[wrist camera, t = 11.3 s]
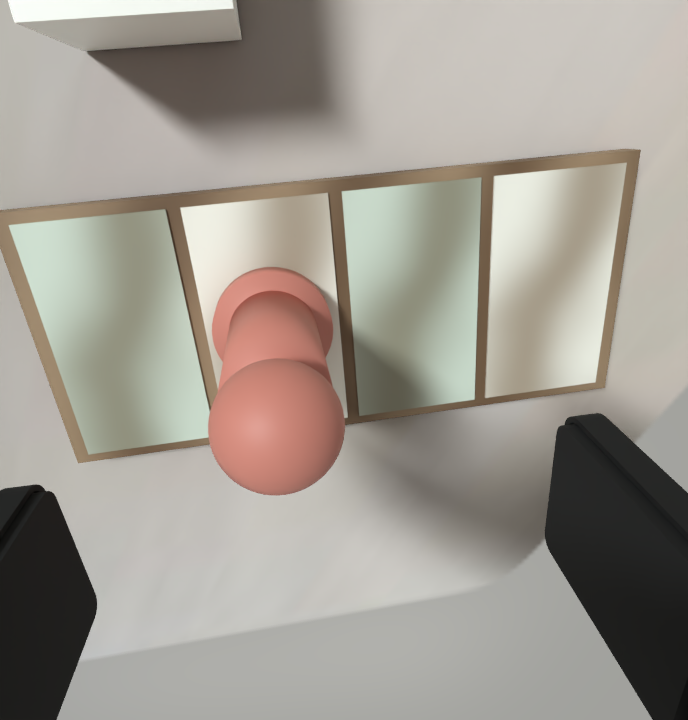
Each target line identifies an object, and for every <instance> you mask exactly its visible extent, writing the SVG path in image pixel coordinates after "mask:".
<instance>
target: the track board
mask: <svg viewBox="0 0 688 720" xmlns="http://www.w3.org/2000/svg"><path fill="white" fill-rule="evenodd" d="M640 151H641V150H635V149H619V150H609V151H599V152H588V153H578V154H568V155H558V156H548V157H538V158H527V159H517V160H507V161H497V162H487V163H476V164H466V165H456V166H446V167H436V168H426V169H415V170H405V171H395V172H385V173H375V174H364V175H354V176H344V177H334V178H324V179H314V180H303V181H293V182H283V183H273V184H263V185H253V186H242V187H232V188H222V189H212V190H202V191H191V192H181V193H171V194H161V195H151V196H141V197H130V198H120V199H110V200H100V201H90V202H79V203H69V204H59V205H49V206H39V207H29V208H18V209H8V210H0V249H1V251H2V254H3V257H4V260H5V263H6V265H7V268H8V271H9V274H10V276H11V279H12V282H13V285H14V287H15V290H16V293H17V296H18V298H19V301H20V304H21V307H22V309H23V312H24V315H25V318H26V320H27V323H28V326H29V329H30V332H31V334H32V337H33V340H34V343H35V345H36V348H37V351H38V354H39V356H40V359H41V362H42V365H43V367H44V370H45V373H46V376H47V378H48V381H49V384H50V387H51V389H52V392H53V395H54V398H55V401H56V403H57V406H58V409H59V412H60V414H61V417H62V420H63V423H64V425H65V428H66V431H67V434H68V436H69V439H70V442H71V445H72V447H73V450H74V453H75V456H76V458H77V461H78V463H83V462H90V461H97V460H104V459H111V458H117V457H124V456H131V455H138V454H145V453H152V452H159V451H166V450H173V449H180V448H187V447H194V446H201V445H208V444H210V442H209V435H208V420H209V414H210V410H211V407H212V404H213V401H214V399H215V397H216V395H217V393H218V387H219V381H220V376H221V370H222V365H223V362H222V360H221V359H220V357H219V356H218V354H217V351H216V349H215V346H214V343H213V338H212V322H213V317H214V313H215V309H216V306H217V303H218V301H219V298H220V296H221V295H222V293H223V292H224V290H225V289H226V288H227V286H228V285H229V284H230V283H231V282H232V281H234V280H235V279H236V278H238V277H239V276H241V275H242V274H244V273H246V272H249V271H251V270H254V269H258V268H263V267H281V268H286V269H290V270H293V271H295V272H298V273H300V274H302V275H303V276H305V277H306V278H308V279H309V280H310V281H312V282H313V283H314V284H315V285H316V286H317V288H318V289H319V290H320V291H321V293H322V294H323V296H324V298H325V300H326V302H327V305H328V308H329V311H330V314H331V317H332V322H333V339H332V343H331V347H330V349H329V352H328V354H327V356H326V362H327V366H328V370H329V373H330V377H331V381H332V386H333V388H334V390H335V391H336V393H337V395H338V397H339V399H340V402H341V405H342V408H343V413H344V419H345V425H347V424H354V423H361V422H368V421H375V420H382V419H389V418H396V417H403V416H410V415H417V414H424V413H431V412H438V411H445V410H452V409H459V408H466V407H473V406H480V405H487V404H494V403H501V402H508V401H515V400H521V399H528V398H535V397H542V396H549V395H556V394H563V393H570V392H577V391H584V390H591V389H598V388H605V381H606V375H607V368H608V362H609V355H610V349H611V342H612V335H613V329H614V322H615V316H616V309H617V302H618V296H619V289H620V283H621V276H622V269H623V263H624V256H625V250H626V243H627V237H628V230H629V223H630V217H631V210H632V204H633V197H634V190H635V184H636V177H637V171H638V164H639V158H640Z"/></svg>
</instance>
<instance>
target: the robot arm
mask: <svg viewBox="0 0 688 720" xmlns="http://www.w3.org/2000/svg"><path fill="white" fill-rule="evenodd" d="M545 539H546V543H547V546H548V549H549V550H550V553H551V554H552V556H553V558H554V559H555V561H556V563H557V564H558V566H559V568H560V569H561V571H562V572H563V574H564V576H565V577H566V579H567V581H568V582H569V584H570V585H571V587H572V589H573V590H574V592H575V593H576V595H577V597H578V598H579V600H580V602H581V603H582V605H583V606H584V608H585V610H586V612H587V613H588V615H589V616H590V618H591V620H592V621H593V623H594V625H595V626H596V628H597V630H598V631H599V633H600V634H601V636H602V638H603V639H604V641H605V643H606V644H607V646H608V647H609V649H610V651H611V652H612V654H613V656H614V657H615V659H616V660H617V662H618V664H619V665H620V667H621V669H622V670H623V672H624V674H625V675H626V677H627V678H628V680H629V682H630V683H631V685H632V687H633V688H634V690H635V692H636V693H637V695H638V696H639V698H640V700H641V701H642V703H643V705H644V706H645V708H646V709H647V711H648V713H649V714H650V716H651V717H652V719H653V720H688V493H687V492H686V491H685V490H684V489H683V488H682V487H681V486H680V485H678V484H677V483H676V482H675V481H674V480H673V479H672V478H671V477H670V476H669V475H668V474H667V473H665V472H664V471H663V470H662V469H661V468H660V467H659V466H658V465H657V464H656V463H655V462H654V461H653V460H652V459H650V458H649V457H648V456H647V455H646V454H645V453H644V452H643V451H642V450H641V449H640V448H639V447H638V446H637V445H635V444H634V443H633V442H632V441H631V440H630V439H629V438H628V437H627V436H626V435H625V434H624V433H623V432H621V431H620V430H619V429H618V428H617V427H616V426H615V425H614V424H613V423H612V422H611V421H610V420H609V419H607V418H606V417H605V416H604V415H602V414H599V413H596V414H588V415H580V416H572V417H569V418H567V420H566V422H565V425H562V426H560V427H559V428H558V430H557V435H556V443H555V452H554V460H553V468H552V477H551V485H550V493H549V502H548V510H547V518H546V527H545ZM96 610H97V599H96V595H95V592H94V590H93V587H92V585H91V582H90V580H89V577H88V575H87V572H86V570H85V567H84V565H83V563H82V560H81V558H80V555H79V553H78V550H77V548H76V545H75V543H74V540H73V538H72V536H71V533H70V531H69V528H68V526H67V523H66V521H65V518H64V516H63V513H62V511H61V509H60V506H59V504H58V501H57V499H56V497H55V495H54V494H53V493H52V492H50V491H45V490H44V488H43V487H42V486H40V485H29V486H21V487H13V488H5V489H3V490H1V491H0V720H56V719H57V716H58V714H59V711H60V709H61V706H62V703H63V701H64V698H65V695H66V693H67V690H68V687H69V684H70V682H71V679H72V677H73V674H74V672H75V669H76V666H77V664H78V661H79V658H80V656H81V653H82V650H83V648H84V645H85V642H86V640H87V637H88V635H89V632H90V629H91V627H92V624H93V621H94V619H95V615H96Z"/></svg>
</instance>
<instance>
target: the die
mask: <svg viewBox="0 0 688 720" xmlns="http://www.w3.org/2000/svg"><path fill="white" fill-rule="evenodd" d="M8 2H9V6H10V9H11V12H12V16H13V19H14V23H17V24H19V25H21V26H24V27H26V28H29V29H31V30H34V31H36V32H38V33H41V34H43V35H46V36H48V37H50V38H53V39H55V40H58V41H60V42H63V43H65V44H67V45H70V46H72V47H75V48H77V49H80V50H82V51H93V50H107V49H121V48H135V47H150V46H164V45H178V44H192V43H206V42H220V41H235V40H242V37H241V30H240V22H239V15H238V8H237V1H236V0H8Z"/></svg>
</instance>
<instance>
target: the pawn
mask: <svg viewBox="0 0 688 720" xmlns="http://www.w3.org/2000/svg"><path fill="white" fill-rule="evenodd" d="M212 338H213V343H214V346H215V349H216V351H217V354H218V356H219V357H220V359H221V360H222V362H223V365H222V370H221V376H220V381H219V387H218V393H217V395H216V397H215V399H214V401H213V404H212V407H211V410H210V414H209V420H208V435H209V442H210V446H211V449H212V452H213V454H214V457H215V459H216V461H217V463H218V464H219V466H220V467H221V469H222V470H223V471H224V472H225V473H226V474H227V475H228V476H229V477H230V478H231V479H232V480H233V481H234V482H236V483H237V484H239V485H240V486H242V487H244V488H246V489H248V490H250V491H253V492H256V493H260V494H264V495H286V494H291V493H295V492H298V491H301V490H303V489H305V488H307V487H309V486H311V485H312V484H314V483H315V482H317V481H318V480H319V479H321V478H322V477H323V476H324V475H325V474H326V473H327V472H328V470H329V469H330V468H331V467H332V465H333V464H334V462H335V460H336V459H337V457H338V455H339V452H340V450H341V447H342V444H343V440H344V432H345V419H344V413H343V408H342V405H341V402H340V399H339V397H338V395H337V393H336V391H335V390H334V388H333V386H332V381H331V377H330V373H329V370H328V366H327V362H326V356H327V354H328V352H329V349H330V347H331V343H332V339H333V322H332V317H331V314H330V311H329V308H328V305H327V302H326V300H325V298H324V296H323V294H322V293H321V291H320V290H319V289H318V288H317V286H316V285H315V284H314V283H313V282H312V281H310V280H309V279H308V278H306V277H305V276H303V275H302V274H300V273H298V272H295V271H293V270H290V269H286V268H281V267H263V268H258V269H254V270H251V271H249V272H246V273H244V274H242V275H241V276H239V277H238V278H236V279H235V280H234V281H232V282H231V283H230V284H229V285H228V286H227V288H226V289H225V290H224V292H223V293H222V295H221V296H220V298H219V301H218V303H217V306H216V309H215V313H214V317H213V322H212Z"/></svg>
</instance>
